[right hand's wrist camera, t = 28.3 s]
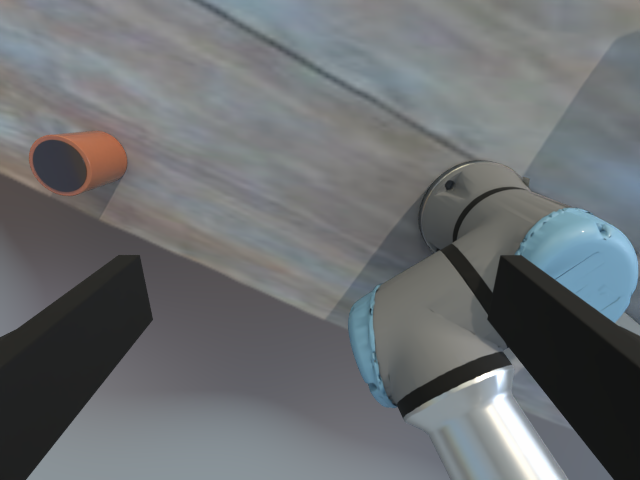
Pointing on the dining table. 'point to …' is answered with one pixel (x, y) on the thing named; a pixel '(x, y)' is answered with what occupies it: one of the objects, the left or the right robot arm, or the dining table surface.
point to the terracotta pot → (77, 161)
